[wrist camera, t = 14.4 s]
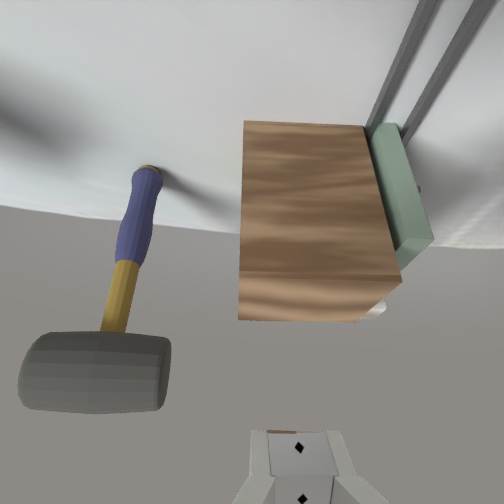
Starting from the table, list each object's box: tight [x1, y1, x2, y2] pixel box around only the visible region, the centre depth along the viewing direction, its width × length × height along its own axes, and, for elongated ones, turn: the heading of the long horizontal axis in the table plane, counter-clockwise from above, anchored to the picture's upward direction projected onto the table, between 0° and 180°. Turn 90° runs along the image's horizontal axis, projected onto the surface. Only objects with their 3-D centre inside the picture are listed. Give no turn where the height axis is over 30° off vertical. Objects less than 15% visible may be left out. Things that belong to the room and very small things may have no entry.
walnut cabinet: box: [238, 121, 402, 322], centre depth 38 cm, size 16×18×20 cm
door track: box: [364, 0, 494, 147], centre depth 35 cm, size 30×5×1 cm, turn 177°
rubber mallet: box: [18, 166, 171, 414], centre depth 36 cm, size 12×8×30 cm, turn 81°
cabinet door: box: [368, 122, 434, 271], centre depth 39 cm, size 15×4×16 cm, turn 177°
